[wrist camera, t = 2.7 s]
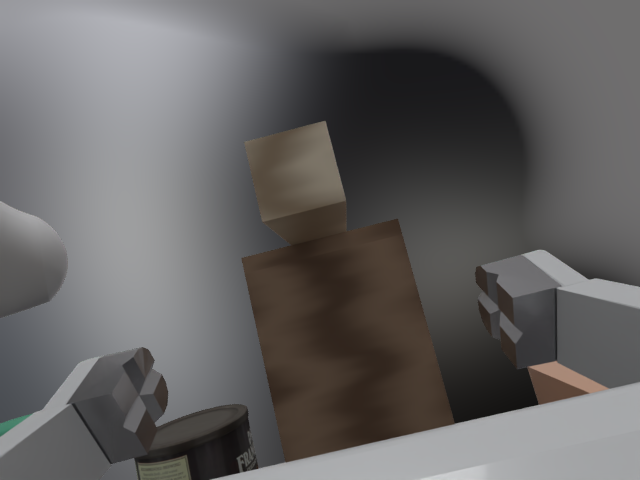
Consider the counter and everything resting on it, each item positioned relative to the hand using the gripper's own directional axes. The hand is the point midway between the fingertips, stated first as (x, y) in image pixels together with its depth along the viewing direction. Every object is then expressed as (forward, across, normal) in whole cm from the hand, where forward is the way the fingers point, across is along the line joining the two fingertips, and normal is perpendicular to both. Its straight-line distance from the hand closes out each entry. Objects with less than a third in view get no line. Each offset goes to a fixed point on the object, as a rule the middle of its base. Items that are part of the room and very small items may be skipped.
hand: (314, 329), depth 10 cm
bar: (+15, 0, +4) cm, 16 cm away
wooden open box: (+7, 0, +30) cm, 30 cm away
